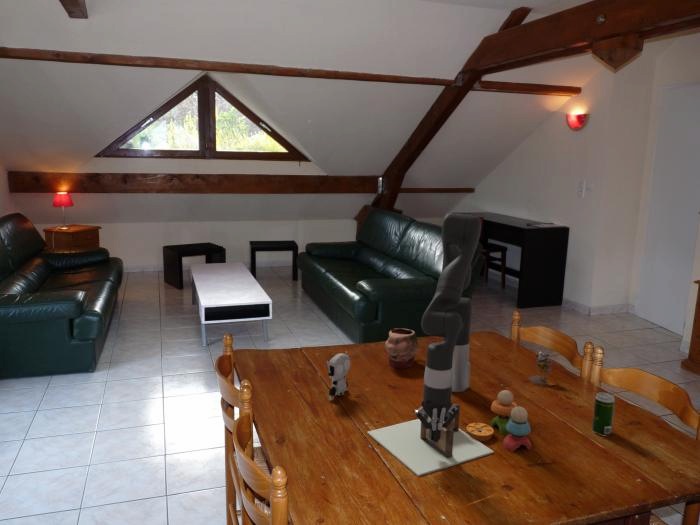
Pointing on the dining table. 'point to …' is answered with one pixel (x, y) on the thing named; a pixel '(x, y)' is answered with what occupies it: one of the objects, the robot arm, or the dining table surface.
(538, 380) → the robot figurine
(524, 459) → the dining table surface
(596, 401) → the beer can
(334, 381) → the robot toy
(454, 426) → the fence fixed
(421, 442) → the board
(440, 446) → the panel
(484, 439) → the set of stacked toys
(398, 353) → the decorative planter
